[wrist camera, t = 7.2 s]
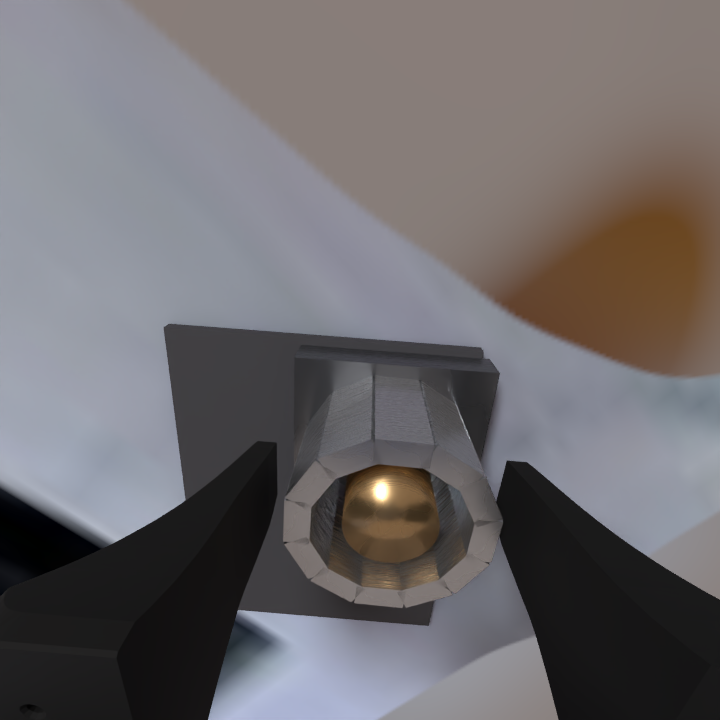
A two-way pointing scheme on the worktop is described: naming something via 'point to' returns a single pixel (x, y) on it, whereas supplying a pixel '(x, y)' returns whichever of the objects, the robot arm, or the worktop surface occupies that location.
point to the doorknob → (387, 482)
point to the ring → (398, 448)
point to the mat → (269, 424)
